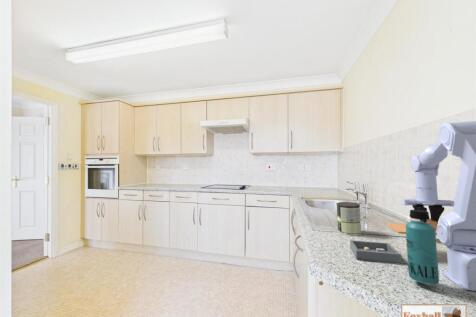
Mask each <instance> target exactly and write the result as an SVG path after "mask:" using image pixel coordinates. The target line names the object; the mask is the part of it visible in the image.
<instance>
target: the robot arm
mask: <svg viewBox="0 0 476 317" xmlns="http://www.w3.org/2000/svg"><path fill="white" fill-rule="evenodd" d="M448 152H449V153H450V154H451V156H455V157H458V158H460V160H461V161H460V167H459V174H458V179H457V185H456V191H455V197H454V200H452V199H451V200H448V199H447V200H446V199H439V198H438V197H439V196H438V184H437V176H438V175H439V168H440V163H441V162H443V161H444V160H446V158H447V157H448V155H449V154H448ZM410 165H411V169H412V171H414V177H415V188H416V189H415V190H416V191H415V192H416V198H414V199H411V198H410V199H402V205H404V206H412V208H413V210H424V211H428V212H429V217H430V219H431V220H434V221H436V222H437V235H436V236H437V238H438V240H439V241H440V242H441V243H442V244H443V245H444V246H445V247H446V254H447V255H446V257H447V270H440V273H441V274H443V275H444V276H445V277H447V278H448V279H449V280H450V281H452V282H453V283H454V284H456V285H457V286H458V287H460V288H461V289H463V290H466V291H475V292H476V120H472V121H470V120H469V121H460V122H459V121H458V122H444V123H443V124H442V125H441V126H440V127H439V130H438V139H437V141H436V143H435V144H432V145H431V144H430V145H428V147H426V148H425V149H424V150H423V151H422V153H420V155H413V156H412V158H411V162H410ZM425 206H427V207H428V208H427V207H425ZM445 207H452V209H453V210H452V211H451V212H449V213H446V214H445V215H443V216H442V214H443V213H444V211H445ZM428 209H429V210H428ZM420 221H421V222H426V223H427V220H421V219H420Z"/></svg>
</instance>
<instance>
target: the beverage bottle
mask: <svg viewBox="0 0 476 317" xmlns="http://www.w3.org/2000/svg"><path fill="white" fill-rule="evenodd" d="M409 216H410V218H414V219H421V220H428V219H431V216H430V212H429V210H427V211H424V210H414V209H410V210H409ZM405 224H406V234H405V241H406V252H407V253H406V257H407V272H408V276H409V278H411V279H412V280H414V281H415V282H418V283H421V284H424V285H429V286H432V285H433V286H435V285H438V284H439V283H440V272H439V268H440V265H439V257H438V252H437V251H438V250H437V238H436V236H437V235H436V233H435V231H436V229H435V228H434V227H433V226H432V225H431V224H429V223H426V222H421V221H410V222H407V223H405Z"/></svg>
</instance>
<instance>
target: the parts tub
mask: <svg viewBox="0 0 476 317" xmlns="http://www.w3.org/2000/svg"><path fill="white" fill-rule="evenodd" d="M349 246H350V249H351V251H352V253H353V255H354V257H355V259H356V260H358V261H369V262H379V263H387V264H389V263H390V264H400V265H402V254H401V253H400V252H398V250H396V249H395V248H394V247H393V246H392V245H391V244H390V243H389V242H378V241H363V240H352V239H349Z"/></svg>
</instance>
